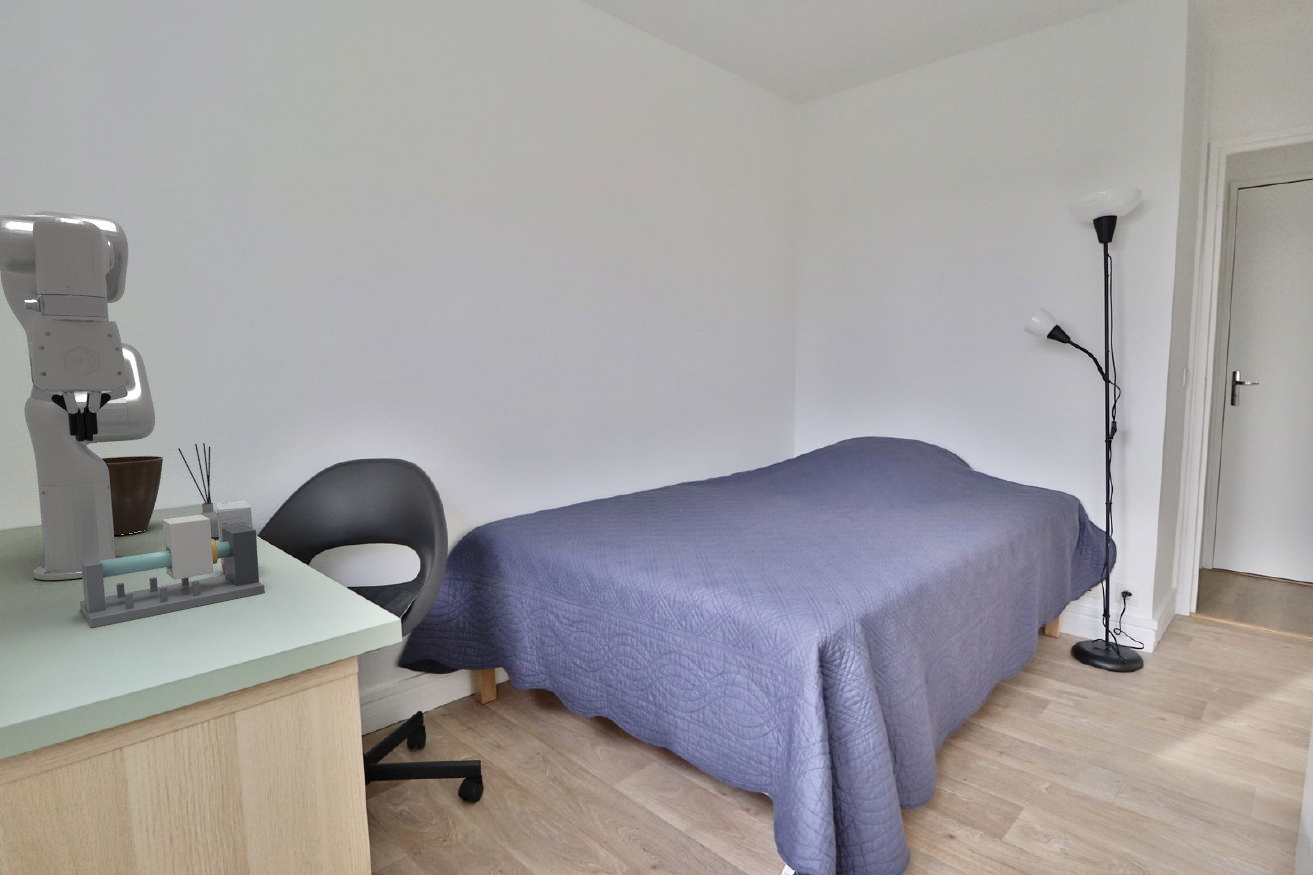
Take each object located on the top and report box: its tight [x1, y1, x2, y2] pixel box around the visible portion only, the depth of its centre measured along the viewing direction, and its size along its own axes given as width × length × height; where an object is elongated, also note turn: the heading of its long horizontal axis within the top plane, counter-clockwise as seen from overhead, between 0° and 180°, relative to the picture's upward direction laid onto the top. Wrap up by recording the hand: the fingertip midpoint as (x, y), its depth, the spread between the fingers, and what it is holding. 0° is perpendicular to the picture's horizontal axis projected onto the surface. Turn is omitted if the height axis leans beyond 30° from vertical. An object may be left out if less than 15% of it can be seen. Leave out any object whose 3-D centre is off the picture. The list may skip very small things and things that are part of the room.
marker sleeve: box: [161, 514, 215, 581], centre depth 107 cm, size 5×5×8 cm
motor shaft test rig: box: [79, 525, 265, 628], centre depth 105 cm, size 21×11×9 cm, turn 135°
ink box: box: [215, 500, 254, 575], centre depth 120 cm, size 9×5×12 cm, turn 33°
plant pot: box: [100, 455, 164, 535], centre depth 154 cm, size 15×15×16 cm
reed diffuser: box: [177, 442, 219, 538], centre depth 146 cm, size 10×7×20 cm
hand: (84, 440), depth 102 cm, fingers closed
